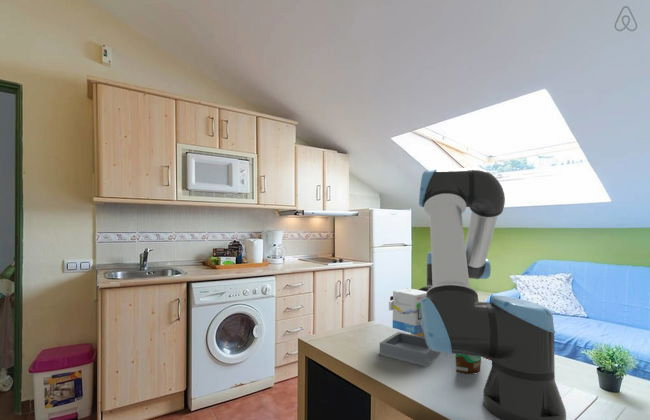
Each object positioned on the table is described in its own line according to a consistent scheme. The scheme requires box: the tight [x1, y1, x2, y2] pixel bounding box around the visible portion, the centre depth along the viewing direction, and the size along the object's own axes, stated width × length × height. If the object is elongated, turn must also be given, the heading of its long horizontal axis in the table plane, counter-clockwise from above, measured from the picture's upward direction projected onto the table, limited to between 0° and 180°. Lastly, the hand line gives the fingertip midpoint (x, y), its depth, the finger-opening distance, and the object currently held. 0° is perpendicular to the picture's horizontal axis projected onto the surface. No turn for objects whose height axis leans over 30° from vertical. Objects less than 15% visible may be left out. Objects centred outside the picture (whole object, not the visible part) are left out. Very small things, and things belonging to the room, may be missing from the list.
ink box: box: [392, 288, 427, 335], centre depth 103 cm, size 8×8×12 cm
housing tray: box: [378, 331, 441, 367], centre depth 102 cm, size 14×14×4 cm
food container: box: [455, 354, 482, 375], centre depth 91 cm, size 12×6×10 cm, turn 143°
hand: (405, 308), depth 99 cm, fingers closed on ink box, 10 cm apart
